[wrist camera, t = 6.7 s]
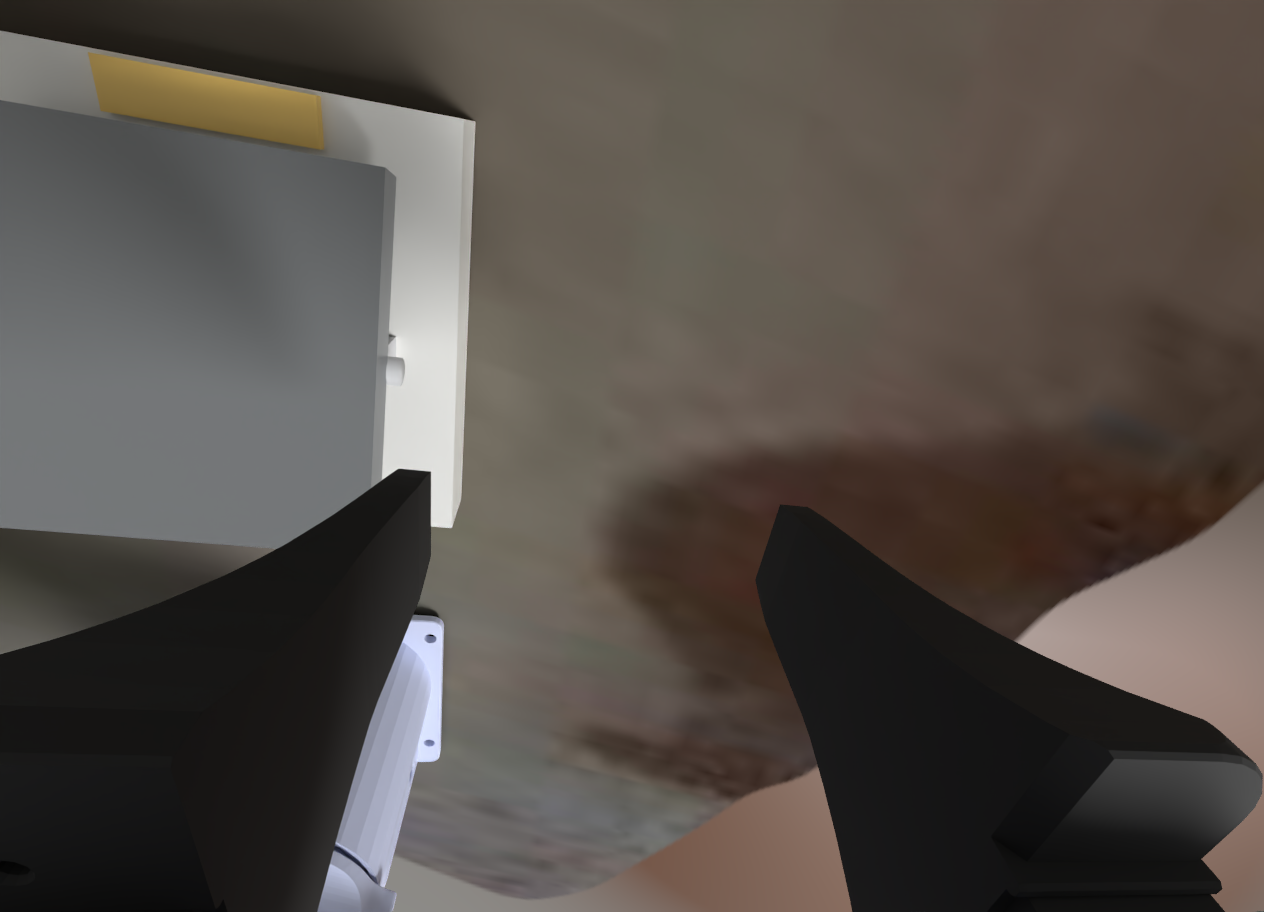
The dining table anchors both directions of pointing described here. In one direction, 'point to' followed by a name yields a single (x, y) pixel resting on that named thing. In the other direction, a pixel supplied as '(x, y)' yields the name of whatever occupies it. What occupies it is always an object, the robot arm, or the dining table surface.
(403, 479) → the robot arm
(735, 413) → the dining table surface
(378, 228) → the rocker
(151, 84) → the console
